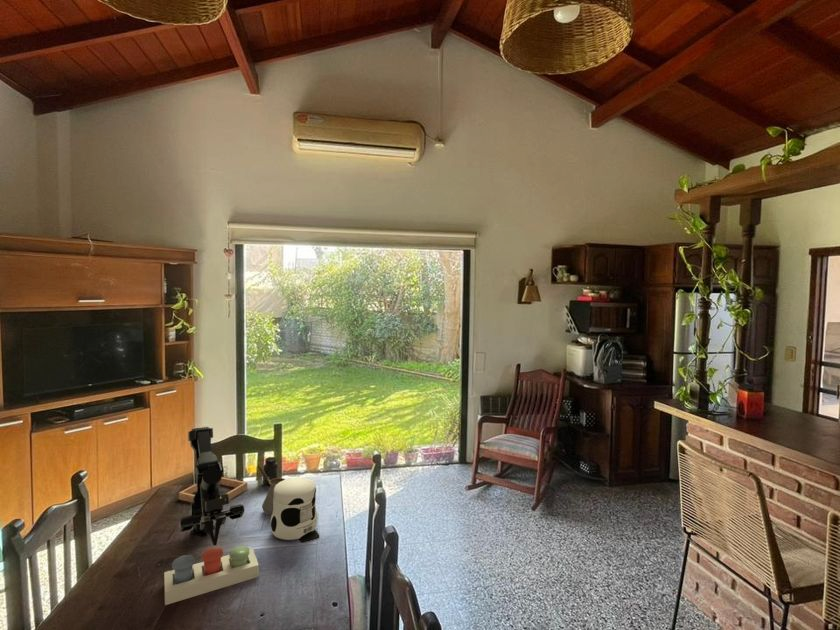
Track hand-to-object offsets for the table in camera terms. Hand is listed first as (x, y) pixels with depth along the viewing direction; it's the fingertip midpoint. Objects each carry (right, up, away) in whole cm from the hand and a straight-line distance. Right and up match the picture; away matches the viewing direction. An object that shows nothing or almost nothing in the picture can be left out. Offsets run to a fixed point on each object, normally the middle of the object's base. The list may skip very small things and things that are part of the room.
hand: (215, 545), depth 136 cm
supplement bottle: (-6, -7, +68) cm, 69 cm away
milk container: (+17, -11, +29) cm, 35 cm away
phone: (+20, -11, +30) cm, 38 cm away
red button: (-1, -8, 0) cm, 8 cm away
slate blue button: (-8, -8, -4) cm, 12 cm away
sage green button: (+6, -10, +4) cm, 13 cm away
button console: (-1, -11, 0) cm, 11 cm away
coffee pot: (+1, -9, +46) cm, 47 cm away
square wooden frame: (-27, -7, +56) cm, 63 cm away
